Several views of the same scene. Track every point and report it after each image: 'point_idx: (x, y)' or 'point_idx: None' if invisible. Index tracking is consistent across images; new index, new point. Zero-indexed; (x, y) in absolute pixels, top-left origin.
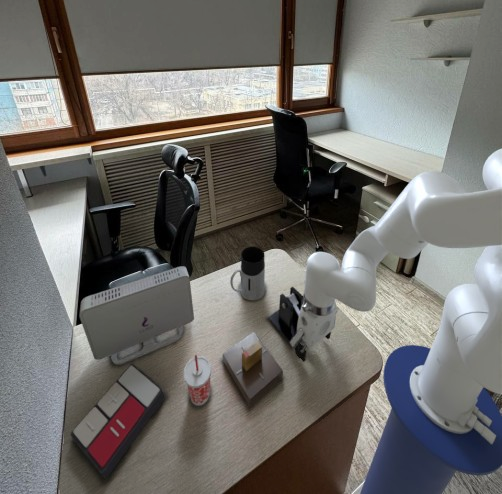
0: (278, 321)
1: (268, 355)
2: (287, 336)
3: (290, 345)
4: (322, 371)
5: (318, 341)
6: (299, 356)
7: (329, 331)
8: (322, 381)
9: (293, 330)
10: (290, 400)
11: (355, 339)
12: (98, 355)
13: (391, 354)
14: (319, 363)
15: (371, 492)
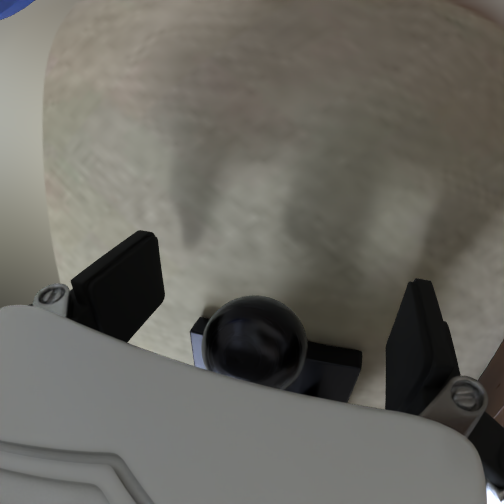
0: None
1: (501, 420)
2: (338, 397)
3: (360, 359)
4: (349, 138)
5: (300, 421)
6: (449, 339)
7: (54, 335)
8: (403, 104)
9: (285, 390)
10: None
11: (58, 131)
12: None
13: (9, 4)
14: (320, 182)
15: None
